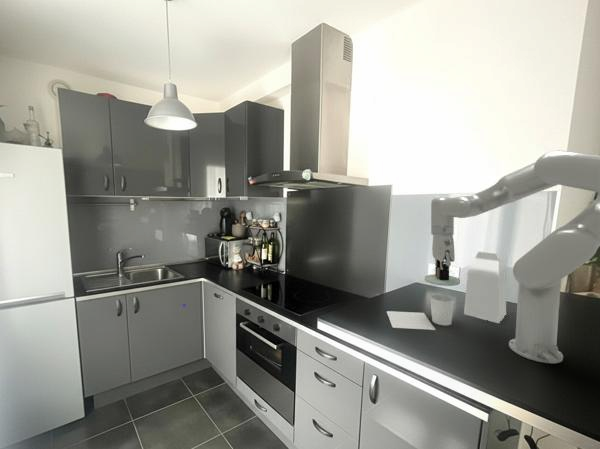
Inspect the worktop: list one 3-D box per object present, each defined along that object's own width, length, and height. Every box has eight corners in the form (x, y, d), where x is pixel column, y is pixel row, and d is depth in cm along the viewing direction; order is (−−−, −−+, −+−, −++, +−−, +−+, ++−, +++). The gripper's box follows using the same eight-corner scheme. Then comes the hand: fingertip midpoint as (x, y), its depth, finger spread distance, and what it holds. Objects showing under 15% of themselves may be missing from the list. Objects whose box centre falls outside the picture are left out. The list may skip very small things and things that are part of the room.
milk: (463, 314, 112) (465, 252, 110) (472, 306, 120) (474, 248, 117) (498, 323, 103) (501, 256, 101) (506, 314, 111) (509, 252, 108)
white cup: (447, 318, 108) (448, 294, 108) (457, 327, 101) (457, 301, 100) (427, 318, 109) (427, 294, 108) (434, 327, 101) (435, 301, 100)
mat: (435, 331, 98) (435, 329, 98) (392, 328, 101) (392, 327, 101) (423, 313, 113) (423, 312, 113) (386, 312, 115) (386, 311, 115)
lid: (466, 285, 96) (466, 272, 96) (430, 285, 98) (430, 272, 98) (452, 276, 108) (452, 264, 108) (420, 276, 110) (420, 264, 110)
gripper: (462, 232, 93) (462, 285, 94) (444, 228, 109) (444, 272, 111) (439, 233, 94) (439, 284, 96) (424, 228, 111) (424, 272, 112)
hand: (442, 277), depth 103 cm, fingers closed on lid, 3 cm apart
